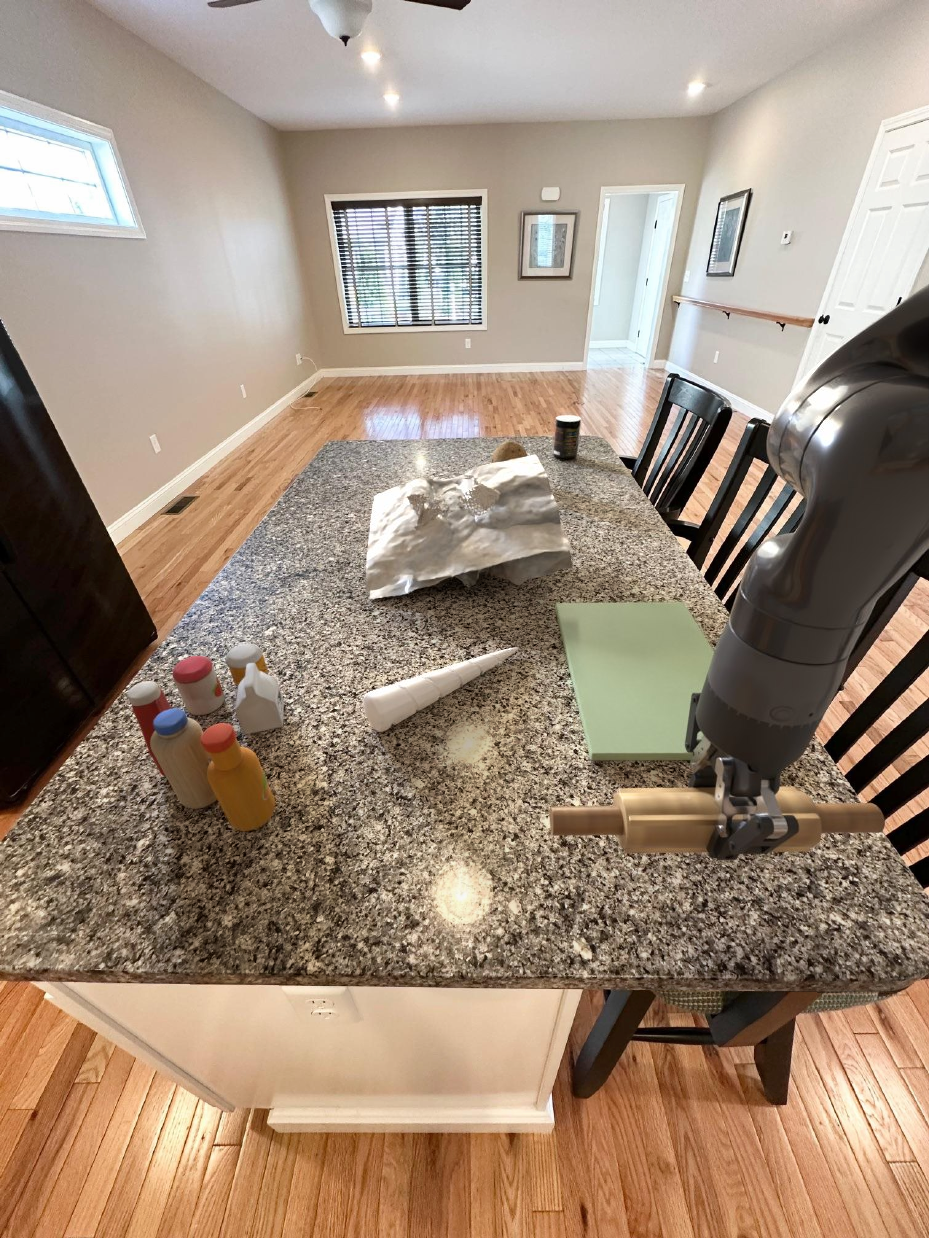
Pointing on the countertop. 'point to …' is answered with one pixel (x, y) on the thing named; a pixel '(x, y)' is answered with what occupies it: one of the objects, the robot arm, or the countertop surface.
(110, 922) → the countertop surface
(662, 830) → the rolling pin
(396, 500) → the white terrain model
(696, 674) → the pastry board
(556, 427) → the supplement container
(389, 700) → the unicorn horn
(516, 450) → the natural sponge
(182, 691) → the toy food
